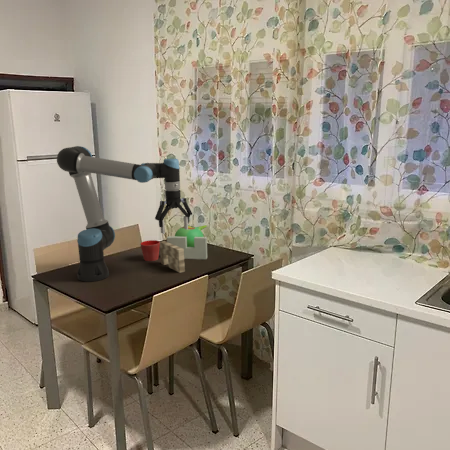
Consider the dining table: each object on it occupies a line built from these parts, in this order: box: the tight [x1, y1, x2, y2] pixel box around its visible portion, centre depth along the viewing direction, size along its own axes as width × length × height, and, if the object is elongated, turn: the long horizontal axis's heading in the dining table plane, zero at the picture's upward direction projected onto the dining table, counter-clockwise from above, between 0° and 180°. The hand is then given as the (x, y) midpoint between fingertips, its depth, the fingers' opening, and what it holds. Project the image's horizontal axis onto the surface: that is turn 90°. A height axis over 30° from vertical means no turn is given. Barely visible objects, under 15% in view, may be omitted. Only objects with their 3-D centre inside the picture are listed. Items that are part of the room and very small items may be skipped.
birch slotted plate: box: [159, 240, 186, 273], centre depth 239 cm, size 20×3×12 cm, turn 36°
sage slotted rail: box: [166, 235, 208, 260], centre depth 255 cm, size 22×3×12 cm, turn 81°
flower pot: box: [140, 239, 161, 262], centre depth 255 cm, size 11×11×10 cm
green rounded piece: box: [174, 224, 208, 247], centre depth 273 cm, size 18×17×15 cm
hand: (174, 231), depth 233 cm, fingers open, 13 cm apart
